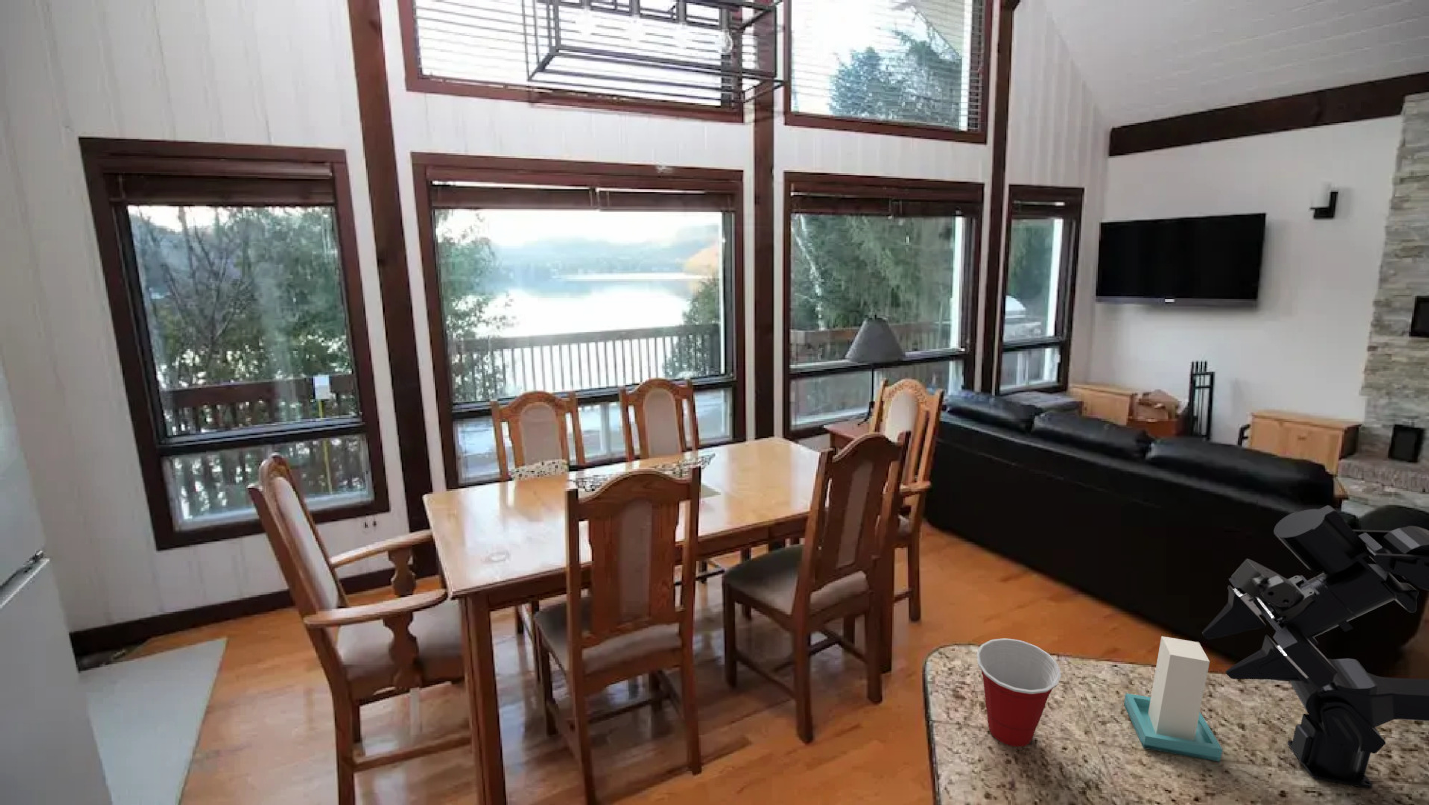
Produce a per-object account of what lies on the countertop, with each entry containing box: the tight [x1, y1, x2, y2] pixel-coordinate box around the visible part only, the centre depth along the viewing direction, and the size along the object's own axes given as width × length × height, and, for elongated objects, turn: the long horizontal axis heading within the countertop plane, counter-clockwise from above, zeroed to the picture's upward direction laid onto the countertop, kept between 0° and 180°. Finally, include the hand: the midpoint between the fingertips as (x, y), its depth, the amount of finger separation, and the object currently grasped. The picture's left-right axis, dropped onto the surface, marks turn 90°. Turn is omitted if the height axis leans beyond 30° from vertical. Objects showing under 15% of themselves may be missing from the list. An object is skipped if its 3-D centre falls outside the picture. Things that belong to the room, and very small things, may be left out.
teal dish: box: [1123, 692, 1223, 763], centre depth 93 cm, size 9×9×2 cm
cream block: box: [1148, 636, 1211, 741], centre depth 92 cm, size 4×4×13 cm
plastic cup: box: [976, 637, 1062, 748], centre depth 92 cm, size 11×11×12 cm
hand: (1215, 654), depth 89 cm, fingers open, 9 cm apart
